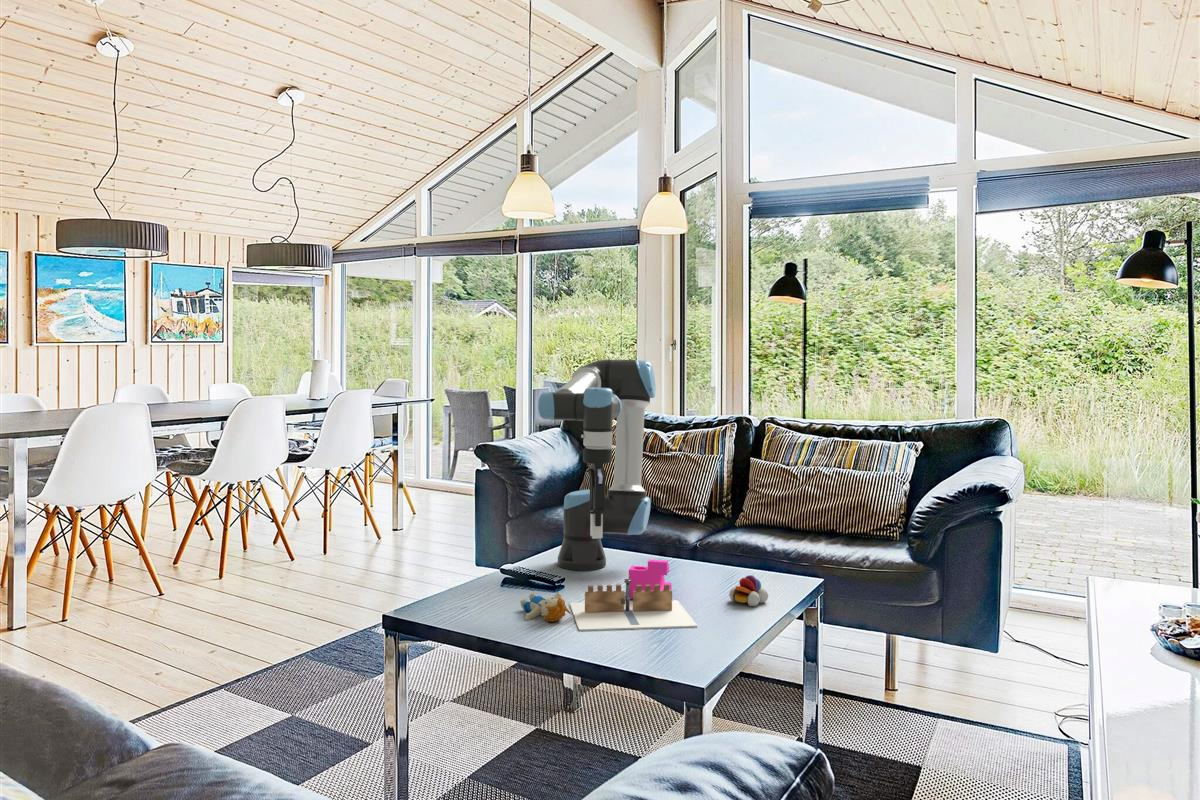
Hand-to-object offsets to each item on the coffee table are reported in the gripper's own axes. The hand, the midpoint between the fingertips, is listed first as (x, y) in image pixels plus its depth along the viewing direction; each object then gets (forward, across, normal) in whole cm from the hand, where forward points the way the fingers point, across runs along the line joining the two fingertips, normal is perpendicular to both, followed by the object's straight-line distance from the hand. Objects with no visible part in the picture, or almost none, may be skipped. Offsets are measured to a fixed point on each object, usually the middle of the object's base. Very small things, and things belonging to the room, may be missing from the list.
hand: (596, 536), depth 223 cm
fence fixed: (+19, +6, +14) cm, 24 cm away
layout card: (+19, +8, +8) cm, 22 cm away
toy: (+19, +7, -14) cm, 25 cm away
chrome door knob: (+19, +6, +8) cm, 21 cm away
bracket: (+19, -9, +16) cm, 26 cm away
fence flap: (+18, +6, +2) cm, 19 cm away
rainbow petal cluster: (+19, 0, +42) cm, 46 cm away
